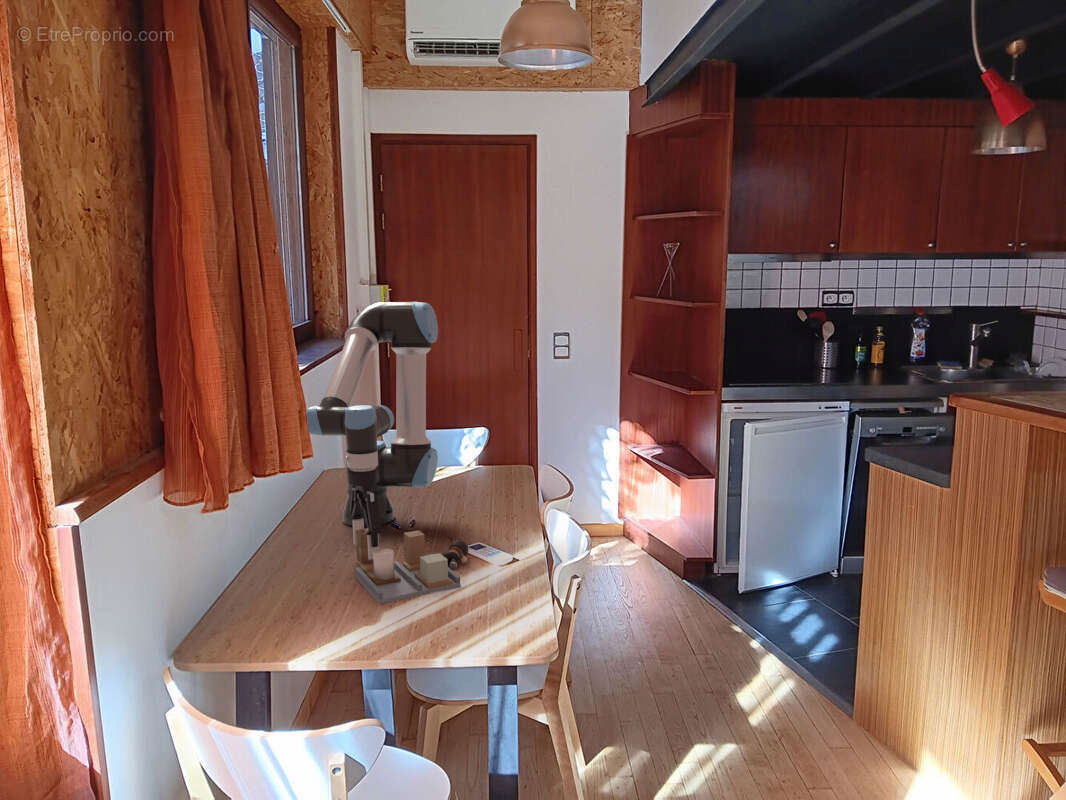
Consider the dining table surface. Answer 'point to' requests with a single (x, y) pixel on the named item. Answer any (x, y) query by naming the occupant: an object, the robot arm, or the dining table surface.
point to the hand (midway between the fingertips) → (366, 550)
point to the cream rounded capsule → (383, 564)
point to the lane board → (408, 575)
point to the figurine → (456, 553)
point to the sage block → (434, 568)
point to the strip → (364, 562)
